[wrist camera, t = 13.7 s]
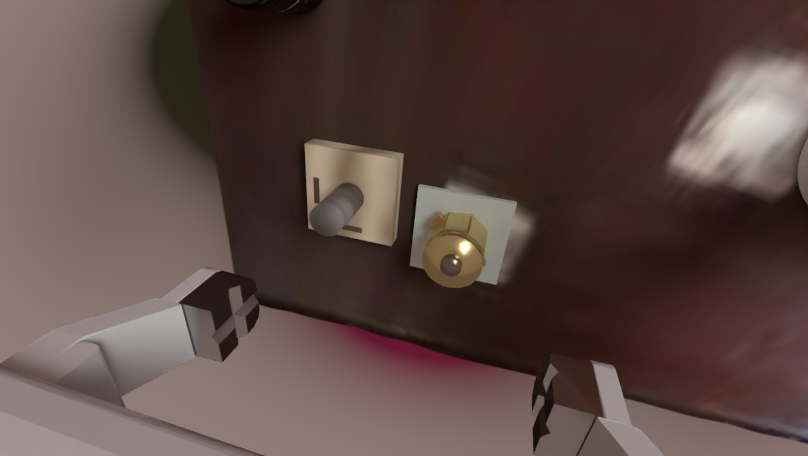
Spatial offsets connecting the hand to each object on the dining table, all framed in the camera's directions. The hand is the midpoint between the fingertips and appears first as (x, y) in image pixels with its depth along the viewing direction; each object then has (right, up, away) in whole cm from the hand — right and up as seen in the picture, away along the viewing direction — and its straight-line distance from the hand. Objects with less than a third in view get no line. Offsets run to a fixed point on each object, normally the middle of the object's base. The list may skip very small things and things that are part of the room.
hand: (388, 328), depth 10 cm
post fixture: (-5, +7, +32) cm, 33 cm away
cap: (+6, +2, +30) cm, 31 cm away
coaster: (+6, +2, +31) cm, 32 cm away
